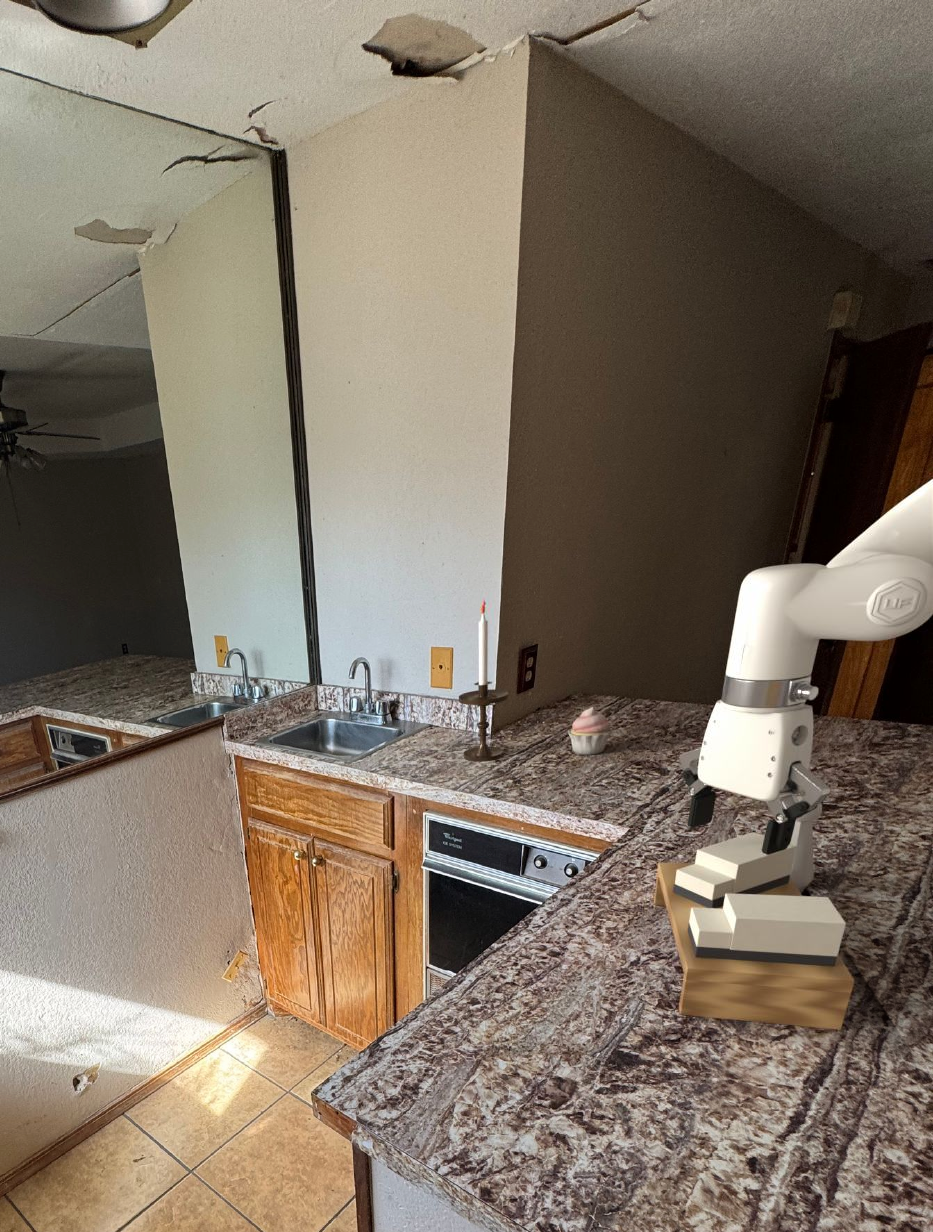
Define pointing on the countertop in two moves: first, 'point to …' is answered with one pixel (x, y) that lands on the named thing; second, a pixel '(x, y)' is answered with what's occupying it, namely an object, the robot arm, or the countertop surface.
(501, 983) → the countertop surface
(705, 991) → the shoe shelf
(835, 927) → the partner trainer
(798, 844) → the salt shaker
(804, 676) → the robot arm
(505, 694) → the candlestick
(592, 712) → the cupcake
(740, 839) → the trainer
